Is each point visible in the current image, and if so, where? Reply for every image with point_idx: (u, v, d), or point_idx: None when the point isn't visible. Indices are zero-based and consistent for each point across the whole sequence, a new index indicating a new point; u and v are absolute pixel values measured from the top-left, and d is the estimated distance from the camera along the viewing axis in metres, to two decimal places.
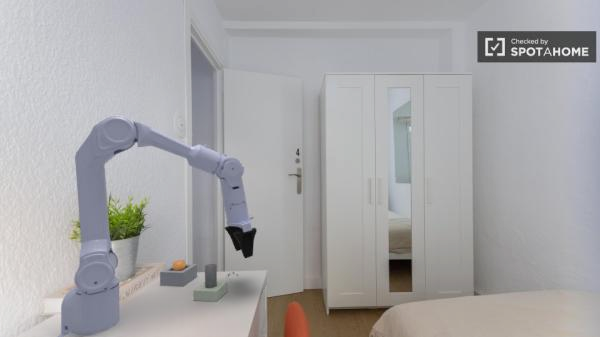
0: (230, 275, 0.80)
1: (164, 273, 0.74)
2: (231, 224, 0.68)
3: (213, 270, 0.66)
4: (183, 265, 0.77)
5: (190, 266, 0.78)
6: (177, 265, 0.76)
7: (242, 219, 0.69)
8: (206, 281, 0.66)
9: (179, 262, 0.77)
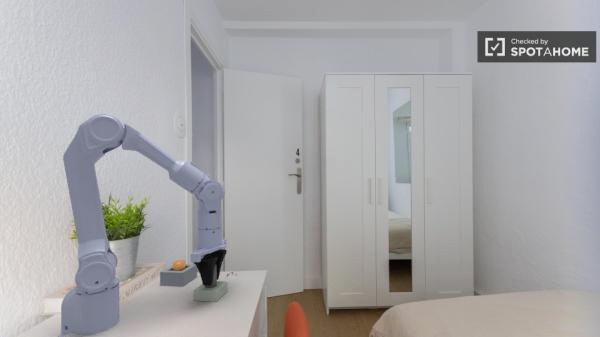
0: (229, 275, 0.80)
1: (164, 273, 0.74)
2: None
3: None
4: (183, 265, 0.77)
5: (190, 266, 0.78)
6: (177, 265, 0.76)
7: (206, 247, 0.65)
8: None
9: (179, 262, 0.77)
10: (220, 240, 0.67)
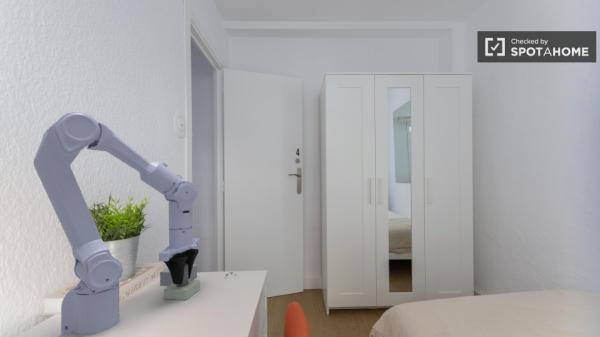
0: (228, 275, 0.80)
1: (164, 273, 0.74)
2: None
3: (184, 269, 0.68)
4: None
5: None
6: None
7: (176, 246, 0.66)
8: None
9: None
10: (191, 240, 0.68)
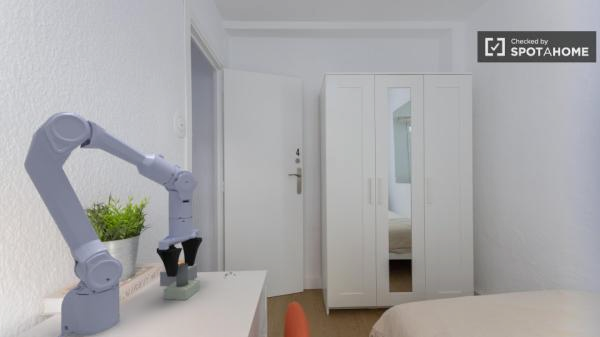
0: (227, 275, 0.80)
1: (164, 273, 0.74)
2: None
3: (184, 269, 0.68)
4: None
5: (190, 266, 0.78)
6: None
7: (175, 235, 0.66)
8: (177, 280, 0.67)
9: (179, 262, 0.77)
10: (190, 229, 0.68)
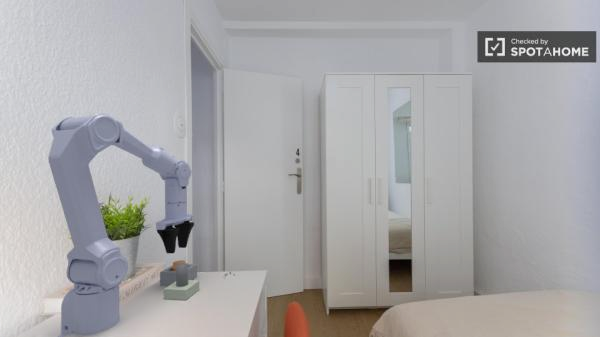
0: (227, 275, 0.81)
1: (164, 273, 0.74)
2: None
3: (184, 269, 0.68)
4: None
5: (190, 266, 0.78)
6: None
7: (171, 218, 0.74)
8: (177, 280, 0.67)
9: (179, 262, 0.77)
10: (185, 213, 0.76)
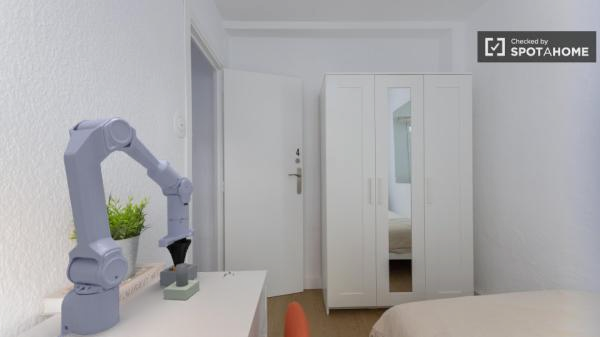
0: (226, 275, 0.81)
1: (164, 273, 0.74)
2: None
3: (184, 269, 0.68)
4: None
5: (190, 266, 0.78)
6: None
7: (173, 235, 0.75)
8: (177, 280, 0.67)
9: None
10: (187, 229, 0.77)
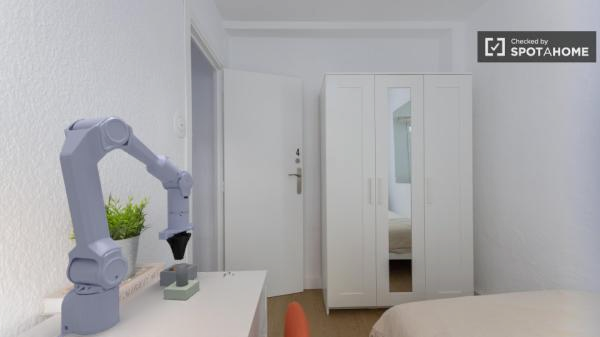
0: (226, 275, 0.81)
1: (164, 273, 0.74)
2: None
3: (184, 269, 0.68)
4: None
5: (190, 266, 0.78)
6: None
7: (173, 228, 0.75)
8: (177, 280, 0.67)
9: None
10: (187, 222, 0.77)
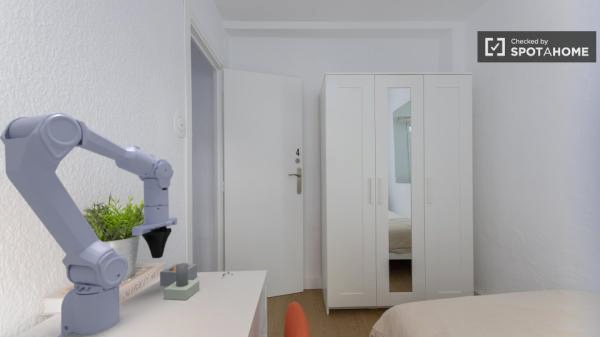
0: (225, 275, 0.81)
1: (164, 273, 0.74)
2: None
3: (184, 269, 0.68)
4: None
5: (190, 266, 0.78)
6: None
7: (150, 222, 0.67)
8: (177, 280, 0.67)
9: None
10: (166, 217, 0.69)
